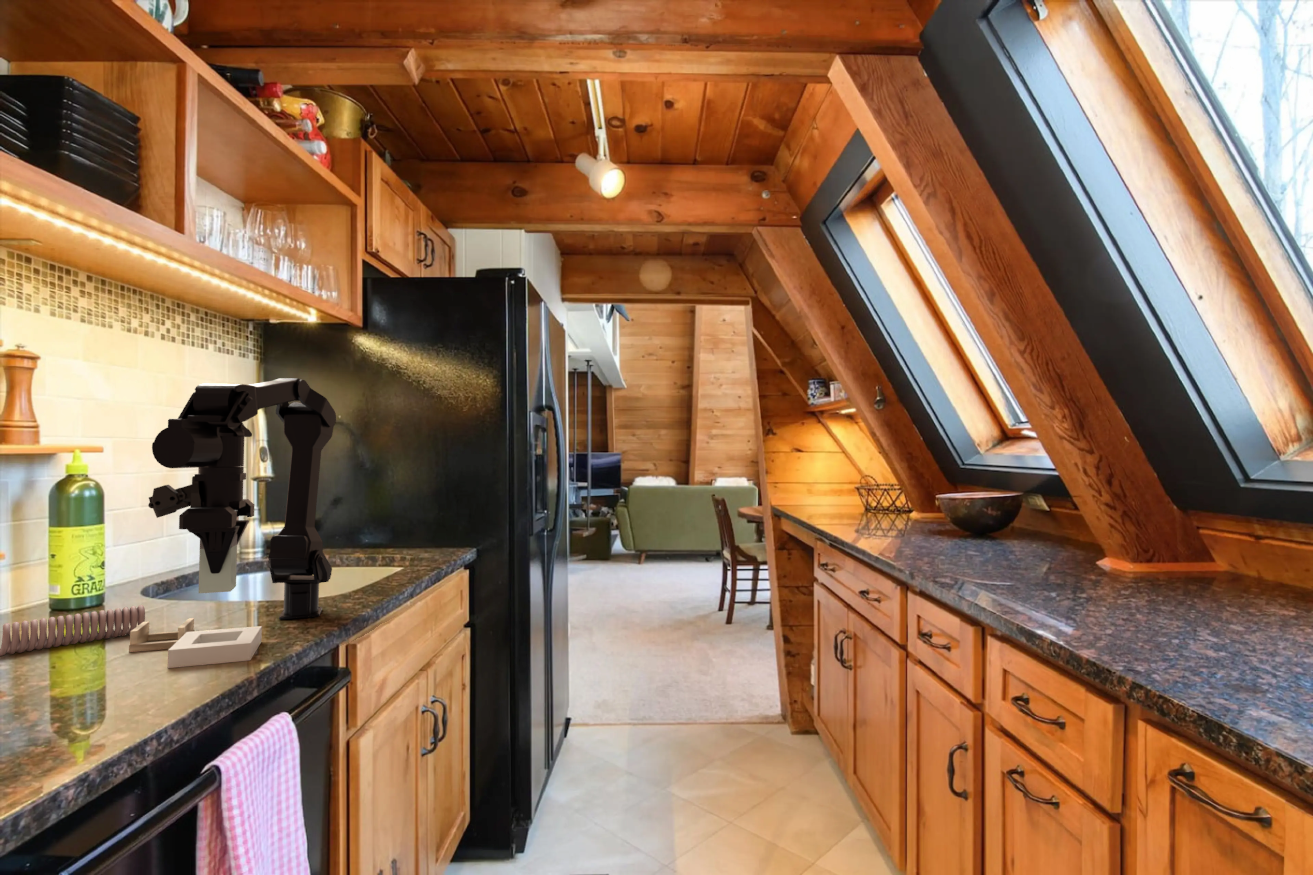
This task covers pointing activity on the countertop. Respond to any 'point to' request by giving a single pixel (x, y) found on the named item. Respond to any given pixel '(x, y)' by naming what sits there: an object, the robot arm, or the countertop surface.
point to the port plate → (215, 646)
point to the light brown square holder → (156, 637)
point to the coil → (70, 629)
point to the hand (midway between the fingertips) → (218, 570)
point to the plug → (221, 580)
